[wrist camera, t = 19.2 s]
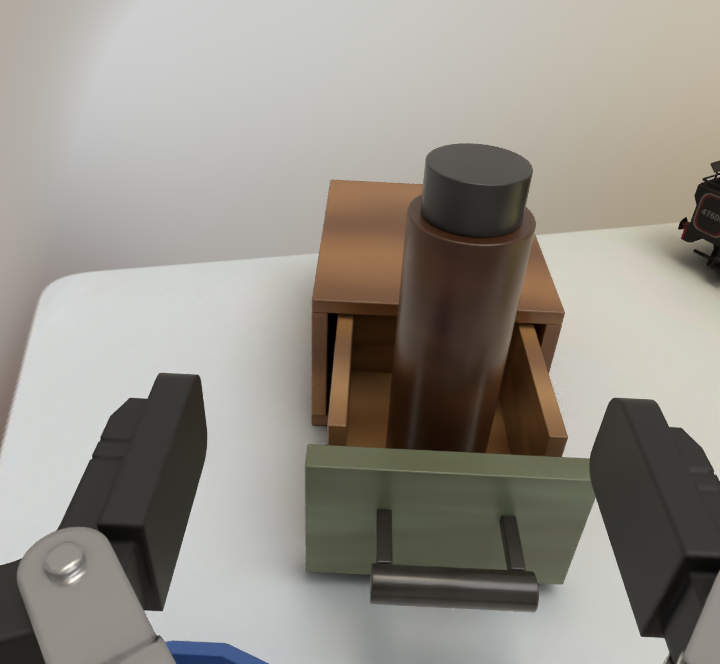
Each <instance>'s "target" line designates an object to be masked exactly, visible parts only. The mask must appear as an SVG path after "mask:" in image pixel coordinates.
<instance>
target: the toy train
mask: <svg viewBox="0 0 720 664" xmlns="http://www.w3.org/2000/svg"><path fill="white" fill-rule="evenodd" d="M711 166H712V169H713V171H714V172H716V174H715V175H712V176H709V177H705V178H703V181H706V182H703V183H701V184H699V185H698V187H697V190H696V193H695V200H696V204H697V206H696V208H695V211H694V214H693V217H692V219H691V222H687V221H688V220H687V218H686V217H685V218H684V219H683V220H682V221H681V222H680V224H679V227H678V229H679V230H680V229H684V231H683V234H682V237H681V239H682V240H684V241H686V242H690V243H691V242H694V241H697V240H700V239H704V240H706V241H709V242H711V243H713V245H714V250H713V252H712V254H711V256H708V255H706V254H704V253H702V252H700V251H698V250H696V249H694V251H693V252H695V253H697V254H699V255H701V256H703V257H705V258H707V259H709V260H708V262H707V264H706V265H708V267H710V268H712V269H714V270H716V271H718V272H720V177H719V178H716V177H717V175H720V173H718V171H720V161H717V162H713V163H711ZM714 176H715V178H714V179H712V180H709V181H708V180H706V179H708V178H711V177H714ZM712 262H713V264H711V263H712Z"/></svg>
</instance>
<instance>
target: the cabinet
mask: <svg viewBox="0 0 720 664" xmlns="http://www.w3.org/2000/svg"><path fill="white" fill-rule="evenodd" d="M422 190H423V184H405V183H386V182H367V181H345V180H331V181H330V186H329V193H328V199H327V206H326V212H325V220H324V225H323V232H322V238H321V245H320V251H319V257H318V264H317V270H316V277H315V283H314V290H313V296H312V425H326V426H327V425H328V415H329V404H330V394H331V383H332V373H333V362H334V351H335V341H336V330H337V320H338V313H340V314H359V315H379V316H397V314H398V303H399V293H400V282H401V271H402V260H403V249H404V238H405V227H406V217H407V208H408V205H409V204H410V202H411V201H412V200H413V199H414V198H415V197H417V196H419V195H421V194H422ZM564 314H565V312H564V309H563V306H562V304H561V301H560V299H559V296H558V293H557V291H556V288H555V285H554V283H553V280H552V278H551V275H550V272H549V270H548V267H547V264H546V262H545V259H544V257H543V254H542V251H541V249H540V246H539V243H538V241H537V238H536V236H535V233H534V237H533V241H532V246H531V250H530V255H529V259H528V264H527V269H526V273H525V278H524V282H523V287H522V291H521V296H520V300H519V305H518V310H517V314H516V319H515V323H533V325H534V328H535V332H536V335H537V338H538V341H539V345H540V348H541V351H542V354H543V358H544V361H545V364H546V367H547V371H548V374H549V371H550V367H551V363H552V360H553V356H554V352H555V349H556V345H557V341H558V338H559V334H560V330H561V327H562V325H561V324H562V322H563V318H564Z"/></svg>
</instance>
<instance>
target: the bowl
mask: <svg viewBox="0 0 720 664" xmlns="http://www.w3.org/2000/svg"><path fill="white" fill-rule="evenodd" d="M165 643H166V645H167V647H168V649H169V651H170V653H171V655H172V657H173V658H174V660H175V662H176V664H268V663H266V662H264V661H262V660H260V659H258V658H256V657H254V656H252V655H250V654H248V653H246V652H243V651H241V650H239V649H237V648H235V647H233V646H231V645H229V644H226V643H210V642H190V641H168V642H165Z"/></svg>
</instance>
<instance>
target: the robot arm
mask: <svg viewBox="0 0 720 664" xmlns="http://www.w3.org/2000/svg"><path fill="white" fill-rule="evenodd" d="M100 438H101V440H100V442H98V444H97V446H96V448H95V450H94V453H93V455H92V460H90V461H89V463H88V466H87V468H86V470H85V472H84V474H83V476H82V479H81V481H80V483H79V485H78V487H77V489H76V492H75V494H74V496H73V498H72V500H71V502H70V505H69V507H68V509H67V511H66V513H65V515H64V517H63V520H62V522H61V524H60V526H59V527H58V529H57V531H55V532H52V533H50V534H49V535H47V536H45V537H43V538H42V539H40V540H39V541H37V542H36V543H35V544H34V545H33V546H32V547H31V548H30V549H29V550H28V551H27V552H26V554H25V555H24V557H23V558H22V559H19V560H17V561H14V562H11V563H8V564H4V565H0V664H176V662H175V660H174V658H173V657H172V655H171V653H170V651H169V649H168V647H167V645H166V643H165V642H164V640H163V639H162V637H161V636H160V635H159V636H157V635H156V634H155V632H154V630H153V628H152V626H151V624H150V622H149V620H148V618H147V616H146V614H145V612H144V610H149V611H163V609H164V605H165V601H166V598H167V594H168V591H169V587H170V583H171V580H172V576H173V573H174V569H175V566H176V562H177V558H178V555H179V551H180V548H181V544H182V541H183V537H184V533H185V530H186V526H187V523H188V519H189V515H190V512H191V508H192V505H193V501H194V498H195V494H196V490H197V487H198V483H199V480H200V476H201V473H202V469H203V465H204V461H205V457H206V449H207V426H206V418H205V410H204V401H203V393H202V385H201V379H200V377H199V375H192V374H173V373H159V374H158V376H157V378H156V380H155V382H154V385H153V387H152V389H151V392H150V394H149V397H148V399H141V398H129V399H128V400H127V401H126V402H125V403H124V404H123V405H122V406H121V407H120V408H119V409H118V410H116V411H115V412H114V413H113V414H112V415H111V416H110V418H109V420H108V422H107V424H106V427H105V429H104V431H103V433H102V435H101V437H100ZM589 470H590V479H591V484H592V487H593V490H594V493H595V496H596V499H597V502H598V505H599V509H600V512H601V515H602V518H603V521H604V524H605V527H606V530H607V533H608V536H609V539H610V542H611V546H612V549H613V552H614V555H615V558H616V561H617V564H618V567H619V570H620V573H621V576H622V579H623V583H624V586H625V589H626V592H627V595H628V598H629V601H630V604H631V607H632V610H633V613H634V616H635V620H636V623H637V626H638V629H639V632H640V635H641V637H659V638H665V641H666V644H667V646H668V649H669V654H668V656H667V657H666V659H665V661H664V663H663V664H720V481H719V479H718V477H717V475H714V470H713V468H712V466H711V464H710V462H709V460H708V458H707V456H706V454H705V452H704V451H703V449H702V447H701V446H700V445H698V444H697V443H696V442H695V441H694V440H693V439H692V438H691V437H690V436H689V435H688V434H687V433H686V432H685V431H684V430H683V429H682V428H676V427H669V426H668V424H667V422H666V420H665V418H664V416H663V414H662V411H661V409H660V407H659V406H658V404H657V403H656V402H655V401H654V400H648V399H629V398H613V399H612V400H611V401H610V402H609V404H608V407H607V409H606V412H605V415H604V418H603V421H602V423H601V426H600V429H599V432H598V434H597V437H596V440H595V443H594V446H593V448H592V451H591V455H590V464H589Z"/></svg>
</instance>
